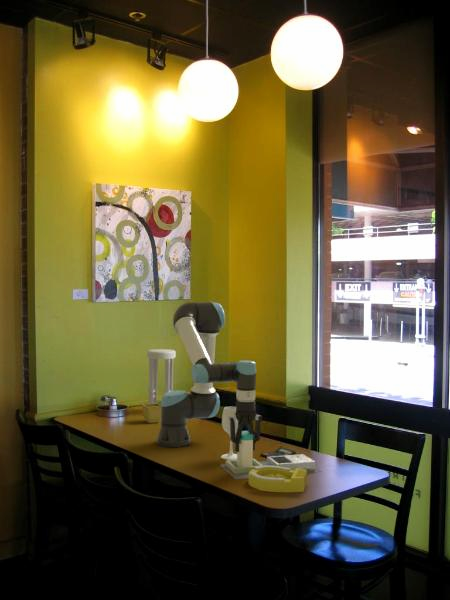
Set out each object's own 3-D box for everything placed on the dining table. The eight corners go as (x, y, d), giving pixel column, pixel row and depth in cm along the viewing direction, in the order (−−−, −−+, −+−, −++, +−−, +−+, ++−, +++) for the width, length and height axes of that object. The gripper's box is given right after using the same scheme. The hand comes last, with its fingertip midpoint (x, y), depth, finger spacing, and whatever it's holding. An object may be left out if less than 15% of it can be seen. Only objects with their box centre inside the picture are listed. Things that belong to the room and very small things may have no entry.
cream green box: (242, 471, 242) (243, 435, 241) (236, 466, 248) (237, 431, 248) (252, 470, 243) (253, 434, 243) (246, 465, 250) (246, 430, 249)
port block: (277, 473, 240) (277, 463, 240) (266, 465, 250) (266, 456, 250) (315, 470, 245) (315, 460, 245) (303, 462, 255) (303, 453, 255)
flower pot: (141, 421, 328) (141, 404, 328) (156, 419, 332) (157, 402, 332) (147, 424, 321) (147, 407, 320) (163, 423, 325) (163, 405, 325)
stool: (176, 410, 358) (177, 349, 357) (170, 415, 343) (171, 352, 342) (150, 409, 360) (151, 348, 359) (143, 414, 345) (144, 351, 344)
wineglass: (244, 456, 265) (244, 407, 264) (237, 461, 256) (238, 410, 256) (224, 454, 267) (225, 405, 267) (217, 459, 259) (218, 409, 259)
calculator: (260, 455, 265) (261, 448, 265) (280, 453, 272) (281, 446, 272) (275, 460, 257) (275, 453, 257) (295, 458, 264) (296, 451, 264)
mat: (235, 480, 232) (235, 479, 232) (219, 465, 250) (219, 464, 250) (322, 472, 243) (322, 471, 243) (301, 459, 261) (301, 458, 261)
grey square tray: (234, 473, 239) (234, 468, 239) (225, 465, 249) (225, 460, 249) (263, 471, 242) (263, 466, 242) (253, 463, 253) (254, 458, 253)
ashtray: (301, 495, 217) (302, 481, 216) (243, 488, 222) (244, 474, 222) (308, 480, 232) (308, 467, 232) (254, 474, 238) (254, 461, 238)
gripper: (228, 402, 239) (227, 463, 239) (269, 401, 244) (268, 460, 245) (222, 399, 246) (221, 458, 247) (262, 397, 251) (261, 455, 252)
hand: (244, 459), depth 246 cm, fingers closed on cream green box, 4 cm apart
